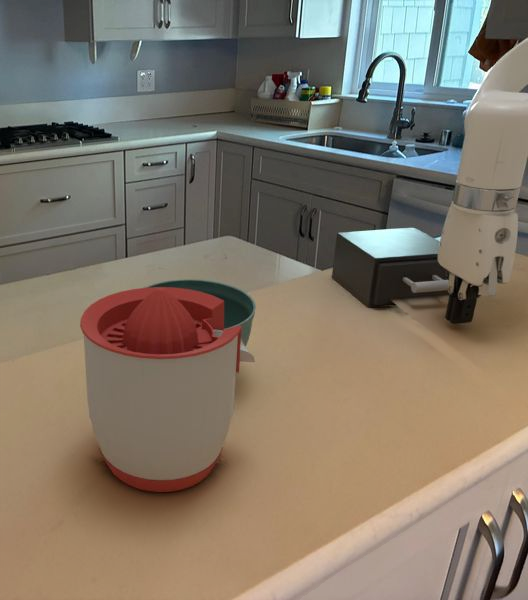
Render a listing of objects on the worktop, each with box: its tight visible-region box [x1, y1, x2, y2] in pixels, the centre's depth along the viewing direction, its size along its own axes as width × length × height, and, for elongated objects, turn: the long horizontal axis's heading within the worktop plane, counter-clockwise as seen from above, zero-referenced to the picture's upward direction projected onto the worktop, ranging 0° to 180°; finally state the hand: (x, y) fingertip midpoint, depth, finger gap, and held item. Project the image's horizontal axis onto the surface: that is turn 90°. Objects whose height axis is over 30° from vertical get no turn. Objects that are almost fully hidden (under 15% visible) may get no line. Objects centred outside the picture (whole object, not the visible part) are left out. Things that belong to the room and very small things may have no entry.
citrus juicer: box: [79, 287, 256, 493], centre depth 63 cm, size 16×17×20 cm
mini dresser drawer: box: [373, 258, 450, 305], centre depth 102 cm, size 17×13×7 cm
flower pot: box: [143, 278, 257, 348], centre depth 80 cm, size 16×16×11 cm
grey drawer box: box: [331, 227, 440, 309], centre depth 106 cm, size 14×15×9 cm
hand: (458, 320), depth 89 cm, fingers closed
